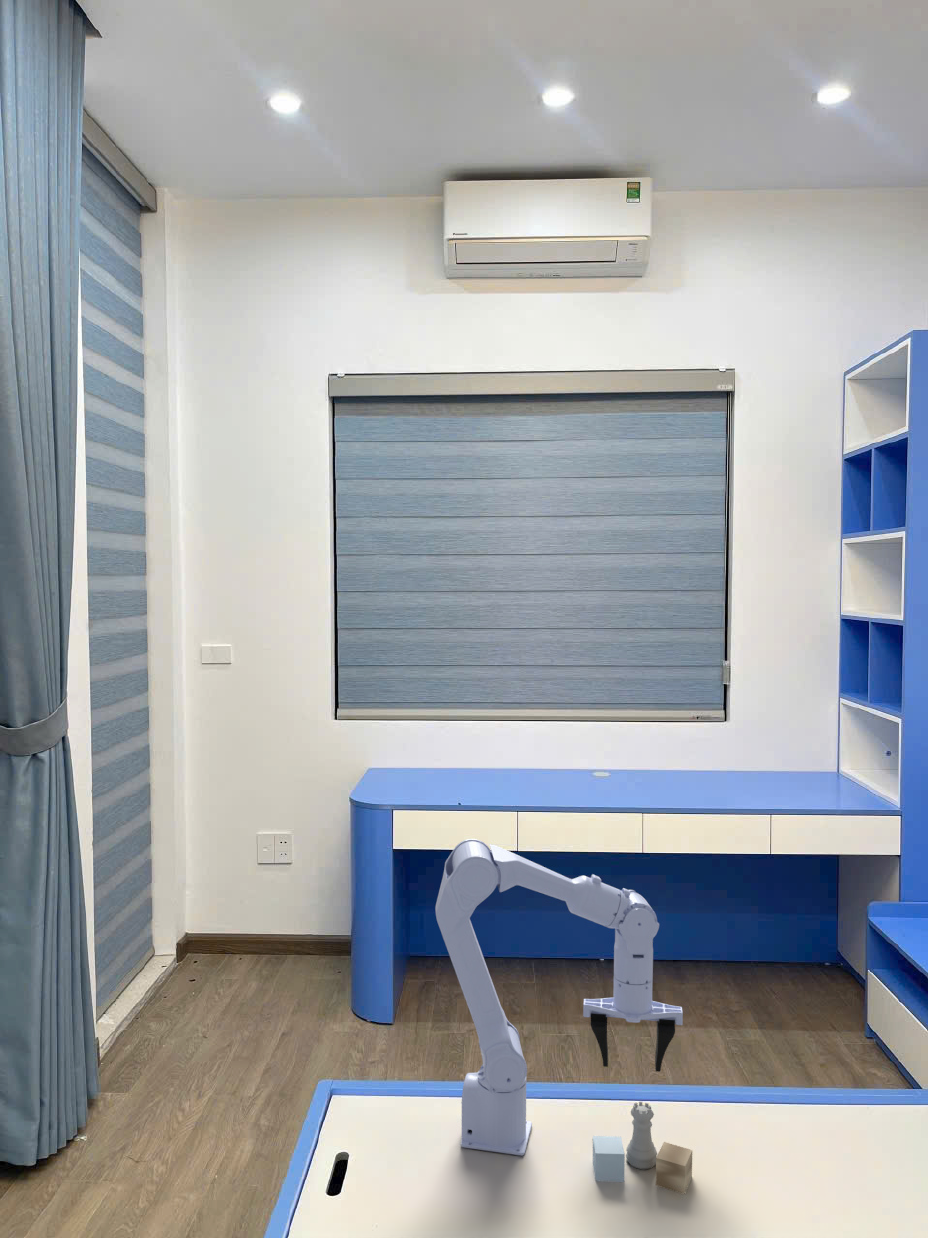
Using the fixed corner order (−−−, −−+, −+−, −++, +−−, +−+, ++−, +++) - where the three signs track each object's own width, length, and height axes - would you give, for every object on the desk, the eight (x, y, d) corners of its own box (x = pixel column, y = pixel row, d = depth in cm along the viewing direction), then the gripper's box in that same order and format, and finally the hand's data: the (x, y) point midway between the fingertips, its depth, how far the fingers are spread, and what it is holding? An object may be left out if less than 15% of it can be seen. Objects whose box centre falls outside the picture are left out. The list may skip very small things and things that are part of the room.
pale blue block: (595, 1181, 127) (595, 1153, 127) (592, 1163, 131) (592, 1136, 131) (624, 1182, 127) (624, 1154, 127) (620, 1164, 131) (621, 1136, 131)
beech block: (655, 1186, 126) (656, 1157, 126) (663, 1169, 130) (663, 1142, 130) (684, 1195, 125) (685, 1166, 124) (691, 1178, 128) (692, 1150, 128)
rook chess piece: (657, 1173, 129) (658, 1117, 129) (625, 1169, 130) (625, 1113, 130) (657, 1153, 133) (658, 1099, 133) (626, 1149, 134) (626, 1096, 134)
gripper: (583, 984, 134) (581, 1075, 135) (684, 992, 132) (683, 1085, 133) (584, 964, 141) (583, 1051, 142) (681, 971, 139) (679, 1059, 140)
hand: (631, 1065), depth 138 cm, fingers open, 7 cm apart
